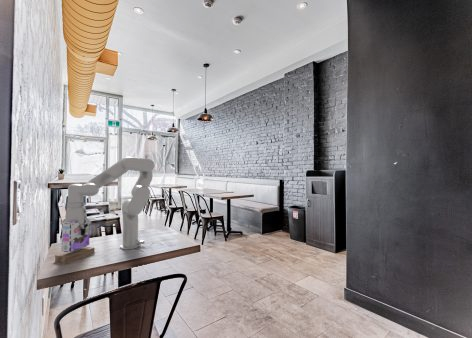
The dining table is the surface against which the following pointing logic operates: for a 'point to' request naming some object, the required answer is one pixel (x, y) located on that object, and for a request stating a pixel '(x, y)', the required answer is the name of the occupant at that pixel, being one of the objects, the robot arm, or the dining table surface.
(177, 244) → the dining table surface
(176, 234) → the dining table surface
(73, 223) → the candy box
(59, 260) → the walnut plinth
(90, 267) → the dining table surface
